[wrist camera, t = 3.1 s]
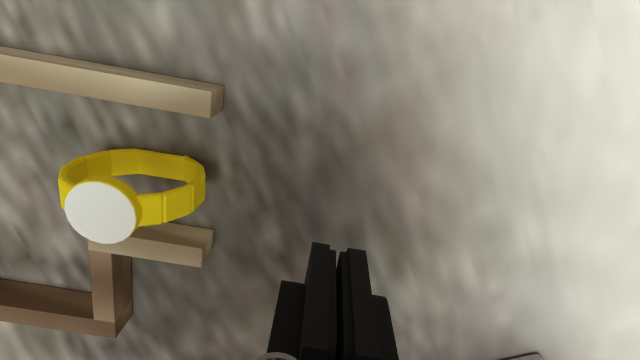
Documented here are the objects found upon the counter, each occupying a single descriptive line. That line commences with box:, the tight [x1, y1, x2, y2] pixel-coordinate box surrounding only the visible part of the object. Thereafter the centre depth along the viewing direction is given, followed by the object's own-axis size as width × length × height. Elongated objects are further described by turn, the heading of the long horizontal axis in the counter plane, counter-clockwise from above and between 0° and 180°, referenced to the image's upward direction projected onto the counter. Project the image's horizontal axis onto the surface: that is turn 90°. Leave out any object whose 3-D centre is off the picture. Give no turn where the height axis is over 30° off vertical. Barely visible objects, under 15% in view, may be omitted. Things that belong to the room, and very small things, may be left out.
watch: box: [58, 148, 206, 244], centre depth 17 cm, size 6×3×6 cm, turn 81°
